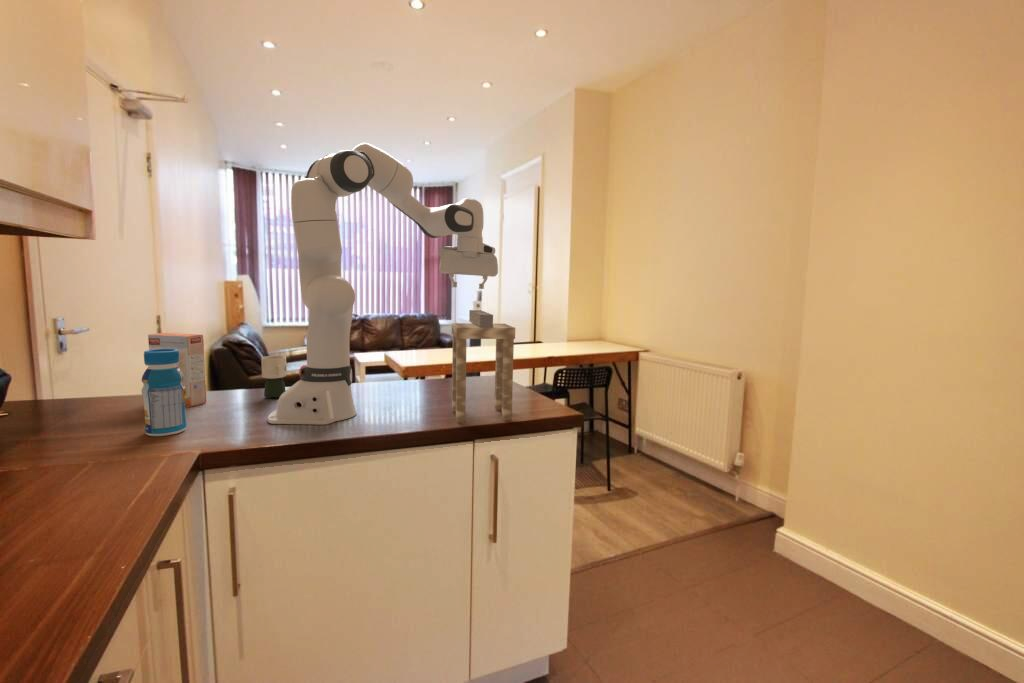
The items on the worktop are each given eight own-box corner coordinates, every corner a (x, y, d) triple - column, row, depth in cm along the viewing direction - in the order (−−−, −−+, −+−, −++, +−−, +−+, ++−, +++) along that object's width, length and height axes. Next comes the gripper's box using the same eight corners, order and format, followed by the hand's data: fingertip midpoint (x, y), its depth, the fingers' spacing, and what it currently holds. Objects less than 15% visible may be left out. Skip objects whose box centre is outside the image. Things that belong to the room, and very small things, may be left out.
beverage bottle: (165, 438, 110) (160, 353, 108) (135, 435, 112) (129, 351, 109) (196, 428, 118) (191, 349, 116) (167, 425, 120) (162, 347, 118)
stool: (455, 422, 128) (456, 327, 125) (450, 409, 142) (451, 323, 139) (513, 420, 132) (515, 327, 129) (503, 407, 145) (504, 323, 142)
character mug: (292, 398, 150) (291, 358, 148) (268, 402, 145) (267, 360, 144) (281, 392, 158) (279, 354, 156) (257, 395, 153) (256, 356, 151)
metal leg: (479, 327, 127) (480, 314, 126) (469, 321, 148) (469, 310, 148) (492, 327, 127) (493, 314, 127) (480, 321, 149) (480, 310, 148)
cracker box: (207, 403, 142) (204, 334, 140) (190, 408, 137) (186, 336, 134) (170, 399, 146) (166, 331, 143) (151, 404, 140) (146, 333, 137)
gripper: (440, 244, 158) (438, 285, 159) (499, 249, 163) (498, 289, 163) (438, 246, 164) (437, 286, 165) (496, 251, 169) (494, 290, 170)
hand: (467, 288), depth 164 cm, fingers open, 8 cm apart
